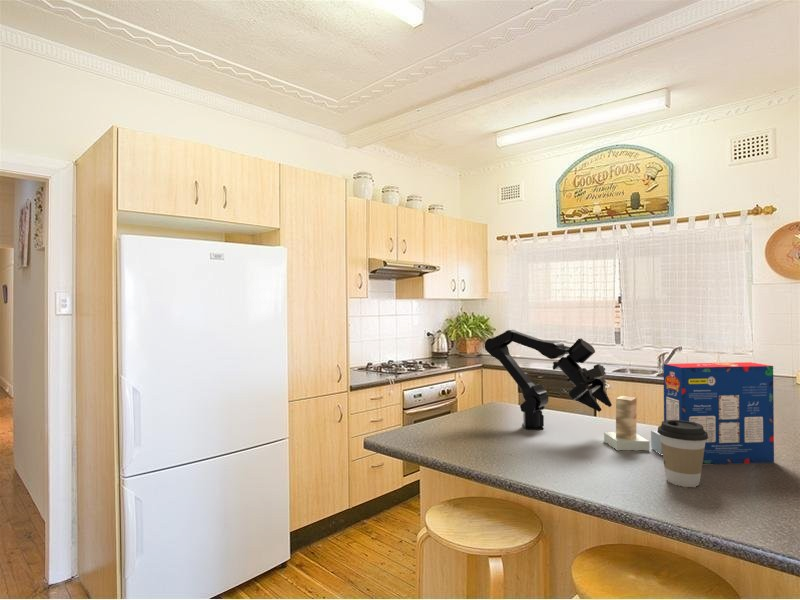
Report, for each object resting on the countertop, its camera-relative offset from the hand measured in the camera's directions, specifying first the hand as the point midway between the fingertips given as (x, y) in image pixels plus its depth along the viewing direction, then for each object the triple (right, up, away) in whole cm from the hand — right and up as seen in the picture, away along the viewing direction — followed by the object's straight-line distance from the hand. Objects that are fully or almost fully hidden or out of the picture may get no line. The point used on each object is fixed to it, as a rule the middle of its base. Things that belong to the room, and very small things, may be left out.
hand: (605, 408), depth 155 cm
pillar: (+4, -8, -5) cm, 10 cm away
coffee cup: (+4, -11, -35) cm, 37 cm away
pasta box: (+25, -11, -17) cm, 33 cm away
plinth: (+5, -12, -4) cm, 13 cm away
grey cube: (+14, -11, -11) cm, 21 cm away
